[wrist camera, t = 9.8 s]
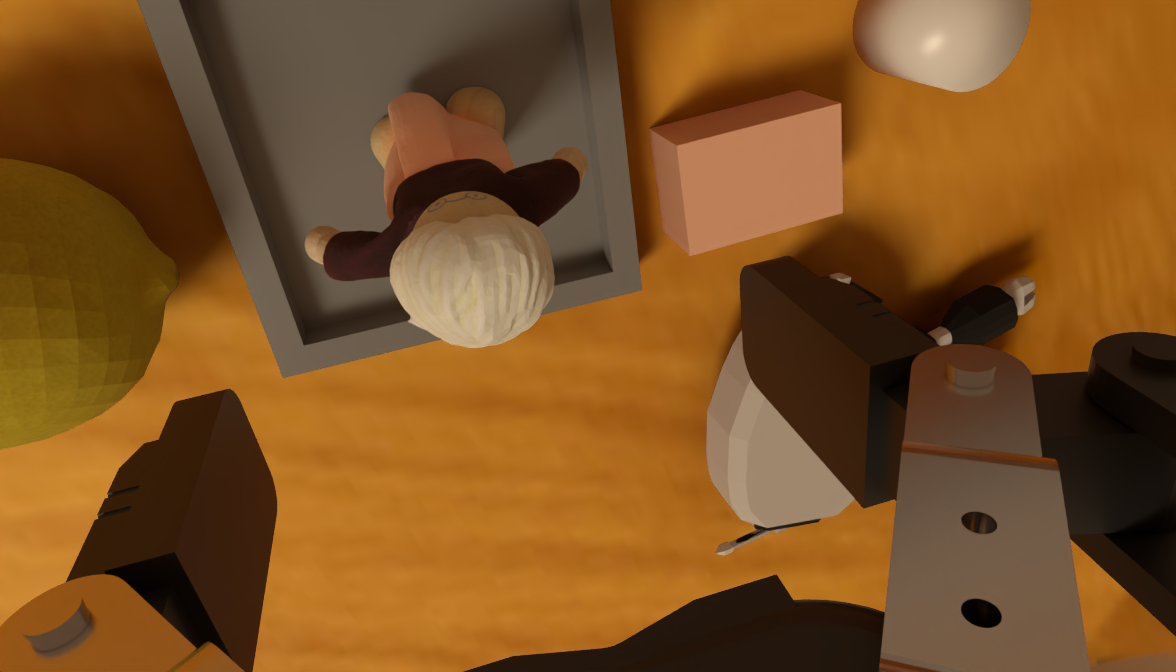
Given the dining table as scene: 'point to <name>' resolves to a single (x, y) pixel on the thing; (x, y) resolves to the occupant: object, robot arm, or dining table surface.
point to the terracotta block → (749, 170)
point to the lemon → (71, 301)
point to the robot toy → (780, 456)
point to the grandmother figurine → (457, 220)
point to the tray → (343, 147)
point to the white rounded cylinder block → (940, 39)
